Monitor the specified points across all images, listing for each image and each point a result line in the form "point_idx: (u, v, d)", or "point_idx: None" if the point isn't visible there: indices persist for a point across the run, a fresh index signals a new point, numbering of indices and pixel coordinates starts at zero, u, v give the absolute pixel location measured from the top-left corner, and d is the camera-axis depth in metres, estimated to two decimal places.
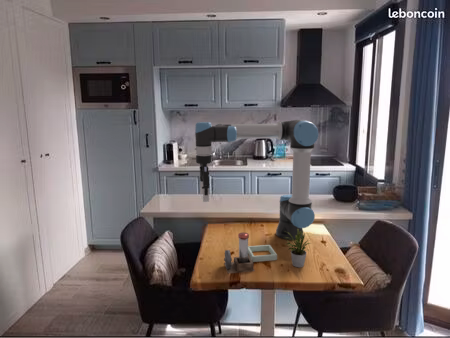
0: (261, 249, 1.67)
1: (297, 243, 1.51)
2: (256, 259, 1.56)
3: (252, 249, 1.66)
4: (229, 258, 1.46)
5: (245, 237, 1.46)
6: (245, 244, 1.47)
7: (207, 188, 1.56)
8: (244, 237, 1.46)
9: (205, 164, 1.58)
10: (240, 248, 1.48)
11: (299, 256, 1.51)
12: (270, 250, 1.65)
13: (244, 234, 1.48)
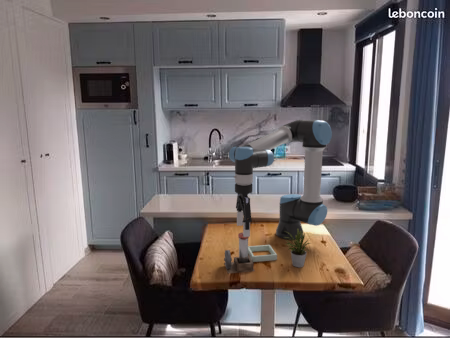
0: (261, 249, 1.67)
1: (297, 243, 1.51)
2: (256, 259, 1.56)
3: (252, 249, 1.66)
4: (229, 258, 1.46)
5: (245, 237, 1.46)
6: (245, 244, 1.47)
7: (249, 222, 1.38)
8: (244, 237, 1.46)
9: (246, 194, 1.41)
10: (240, 248, 1.48)
11: (299, 256, 1.51)
12: (270, 250, 1.65)
13: None
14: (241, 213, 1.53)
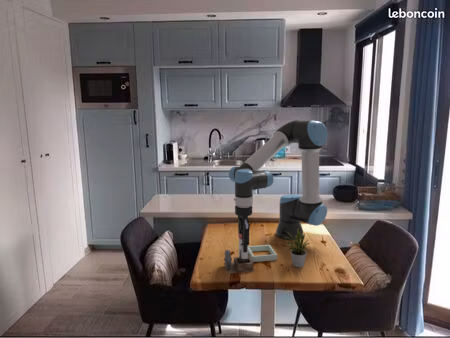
0: (261, 249, 1.67)
1: (297, 243, 1.51)
2: (256, 259, 1.56)
3: (252, 249, 1.66)
4: (229, 258, 1.46)
5: None
6: None
7: (246, 245, 1.45)
8: None
9: (246, 217, 1.43)
10: (240, 248, 1.48)
11: (299, 256, 1.51)
12: (270, 250, 1.65)
13: None
14: None
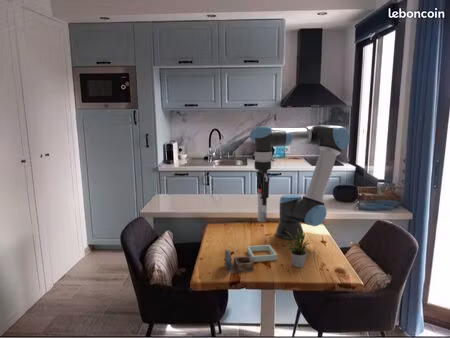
0: (261, 249, 1.67)
1: (297, 243, 1.51)
2: (256, 259, 1.56)
3: (252, 249, 1.66)
4: (229, 258, 1.46)
5: None
6: None
7: (266, 198, 1.53)
8: None
9: (265, 170, 1.50)
10: (259, 202, 1.56)
11: (299, 256, 1.51)
12: (270, 250, 1.65)
13: None
14: None
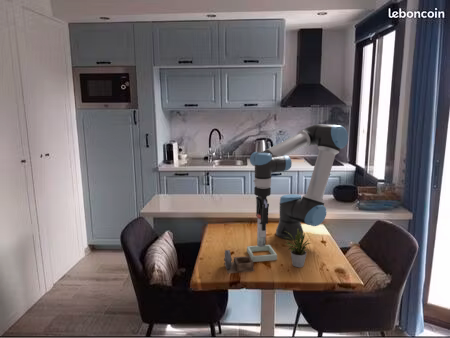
0: (261, 249, 1.67)
1: (297, 243, 1.51)
2: (256, 259, 1.56)
3: (252, 249, 1.66)
4: (229, 258, 1.46)
5: None
6: None
7: (265, 223, 1.55)
8: None
9: (265, 197, 1.53)
10: (259, 227, 1.58)
11: (299, 256, 1.51)
12: (270, 250, 1.65)
13: None
14: None
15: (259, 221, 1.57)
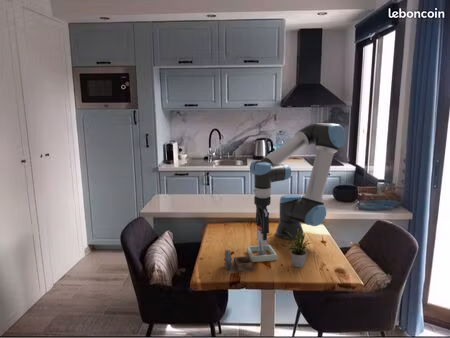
0: None
1: (297, 243, 1.51)
2: (256, 259, 1.56)
3: (252, 249, 1.66)
4: (229, 258, 1.46)
5: None
6: None
7: (266, 233, 1.54)
8: None
9: (265, 206, 1.54)
10: (259, 239, 1.59)
11: (299, 256, 1.51)
12: (270, 250, 1.65)
13: None
14: None
15: (259, 233, 1.58)
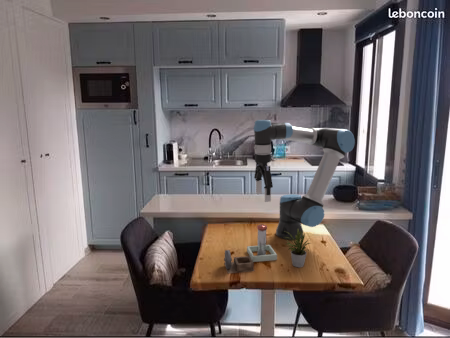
0: None
1: (297, 243, 1.51)
2: (256, 259, 1.56)
3: (252, 249, 1.66)
4: (229, 258, 1.46)
5: (264, 228, 1.57)
6: (264, 235, 1.58)
7: (270, 188, 1.52)
8: (263, 228, 1.57)
9: (266, 163, 1.54)
10: (259, 239, 1.59)
11: (299, 256, 1.51)
12: (270, 250, 1.65)
13: (263, 226, 1.59)
14: (260, 182, 1.66)
15: (259, 232, 1.59)
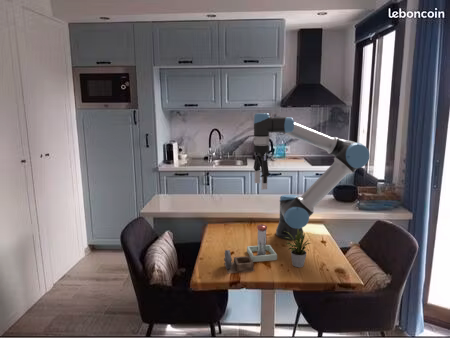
0: None
1: (297, 243, 1.51)
2: (256, 259, 1.56)
3: (252, 249, 1.66)
4: (229, 258, 1.46)
5: (264, 228, 1.57)
6: (263, 235, 1.58)
7: (266, 176, 1.63)
8: (263, 228, 1.57)
9: (263, 153, 1.66)
10: (259, 239, 1.59)
11: (299, 256, 1.51)
12: (270, 250, 1.65)
13: (262, 226, 1.59)
14: (258, 172, 1.78)
15: (259, 233, 1.58)
